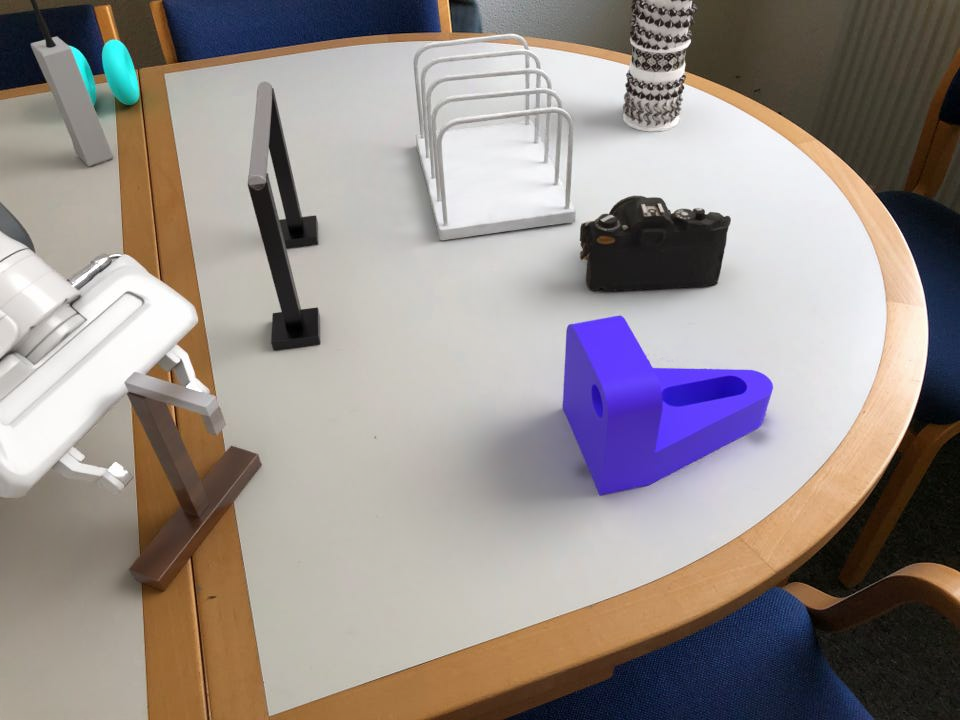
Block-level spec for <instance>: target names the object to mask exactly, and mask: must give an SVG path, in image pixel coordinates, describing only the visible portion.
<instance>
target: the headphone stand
mask: <svg viewBox="0 0 960 720" xmlns="http://www.w3.org/2000/svg"><path fill="white" fill-rule="evenodd" d="M124 383H125V385H126V387H127V389H128V391H129V392H128V393H127V394H126V395H127V398H128V399H129V402H130V404H131V405H132V407H133V410H134V412H135V414H136V416H137V419H138V420H139V422H140V424H141V427H142V429H143V430H144V432H145V435H146V437H147V439H148V441H149V443H150V445H151V448H152V449H153V451H154V453H155V455H156V457H157V459H158V462H159V464H160V465H161V468H162V470H163V472H164V475H165V476H166V478H167V480H168V482H169V485H170V486H171V488H172V489H171V490H172V491H173V493H174V495H175V498H176V499H177V501H178V503H179V505H180V507H179V508H178V509H177V510H176V512H174V513H173V515H172V516H171V518H169V520H168V521H167V522H166V524H165V525H164V526H163V527H162V528H161V530H159V532H158V533H156V535H155V537H154V538H153V539H152V541H151V542H150V543H149V544H148V545H147V547H145V549H144V550H143V551H142V552H141V554H140V555H139V556H138V558H137V559H136V560H135V561H134V562H133V563H132V564H131V565H130V567H129V568H128V571H129V573H130V575H131V576H132V577H133V580H135V581H137V582H140V583H142V584H144V585H147V586H149V587H151V586H152V587H151V588H154V589H156V590H159V591H162V592H165V591H166V590H167V588H168V587H169V586H170V585H171V583H172V582H173V581H174V579H175V578H176V577H177V576H178V574H179V573H180V572H179V570H180V571H181V570H182V569H183V568H184V567H185V565H186V564H187V563H188V562H189V560H190V559H191V557H192V556H193V555H194V554H195V552H196V551H197V550H198V549H199V547H200V546H201V545H202V543H203V542H204V540H205V539H206V538H207V537H208V536H209V534H210V533H211V531H212V530H213V529H214V528H215V527H216V525H217V524H218V522H219V521H220V520H221V519H222V517H223V516H224V515H225V514H226V512H228V510H229V508H230V507H231V506H232V504H233V503H234V502H235V500H236V499H237V498H238V496H239V495H240V494H241V493H242V491H243V490H244V489H245V487H247V485H248V483H249V482H250V481H251V480H252V478H254V476H255V475H256V474H257V472H258V471H259V470H260V468H261V467H262V465H263V464H262V461H261V458H260V456H259V454H258V453H256V452H252V451H250V450H247V449H244V448H241V447H237V446H235V445H230V446H229V447H228V448H227V449H226V451H225V452H224V453H223V455H221V457H220V458H219V460H217V462H216V463H215V464H214V466H213V467H212V468H211V469H210V470H209V471H208V473H207V474H206V475H205V477H204V478H203V479H202V480H201V479H200V477H199V475H198V472H197V470H196V468H195V466H194V463H193V461H192V459H191V457H190V454H189V452H188V449H187V447H186V445H185V443H184V440H183V438H182V435H181V434H180V431H179V429H178V427H177V424H176V422H175V420H174V418H173V415H172V413H171V410H170V408H169V407H168V405H170V406H174V407H176V408H180V409H183V410H187V411H189V412H192V413H195V414H199V415H200V417H201V419H202V421H203V422H202V423H203V424H204V427H205V430H206V432H207V434H210V435H213V436H216V437H218V435H219V434H220V433H221V431H222V430H223V429H224V428H225V427H226V426H227V422H226V419H225V417H224V415H223V412H222V409H221V406H220V404H219V401H218V398H217V396H216V395H214V394H211V393H210V394H207V393H204V392H200V391H197V390H194V389H190V388H187V387H184V386H180V384H177V383H173V382H170V381H167V380H164V379H162V378H161V379H160V378H157V377H153V376H151V375H148V374H146V375H144V374H141V373H138V372H134V373H133V374H132V375H131V376H130V377H129V378H128V379H127V380H126V381H125V382H124ZM185 563H186V564H185ZM182 567H183V568H182ZM181 568H182V569H181ZM178 572H179V573H178ZM177 573H178V574H177ZM175 576H176V577H175ZM174 577H175V578H174ZM172 580H173V581H172ZM171 581H172V582H171ZM168 585H169V586H168ZM166 587H167V588H166ZM165 589H166V590H165Z"/></svg>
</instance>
